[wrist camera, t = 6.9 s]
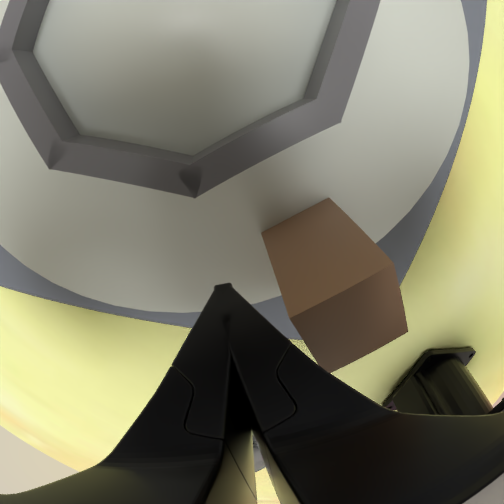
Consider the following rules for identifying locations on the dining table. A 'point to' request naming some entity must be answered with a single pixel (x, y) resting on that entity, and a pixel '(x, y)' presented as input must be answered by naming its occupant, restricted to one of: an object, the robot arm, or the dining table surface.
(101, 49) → the turntable
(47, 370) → the dining table surface
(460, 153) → the dining table surface
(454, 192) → the dining table surface
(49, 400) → the dining table surface
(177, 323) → the turntable base
